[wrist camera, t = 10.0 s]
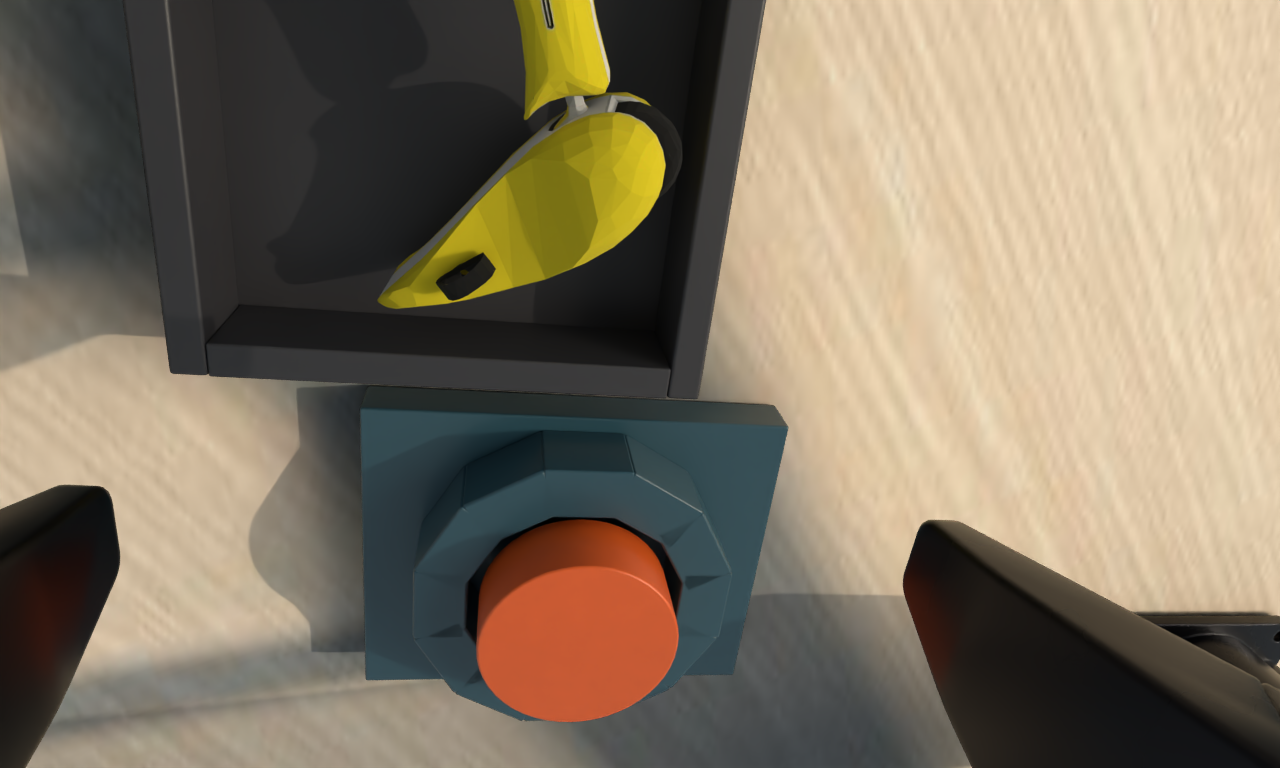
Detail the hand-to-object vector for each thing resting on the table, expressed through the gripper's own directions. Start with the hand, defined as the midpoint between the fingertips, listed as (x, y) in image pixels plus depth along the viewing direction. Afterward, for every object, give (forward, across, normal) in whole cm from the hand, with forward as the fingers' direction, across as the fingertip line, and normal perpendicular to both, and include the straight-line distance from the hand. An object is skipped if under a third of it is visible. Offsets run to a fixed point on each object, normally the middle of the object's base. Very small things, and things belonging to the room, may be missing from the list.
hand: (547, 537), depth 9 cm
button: (+8, -1, +7) cm, 11 cm away
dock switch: (+10, -1, +7) cm, 13 cm away
